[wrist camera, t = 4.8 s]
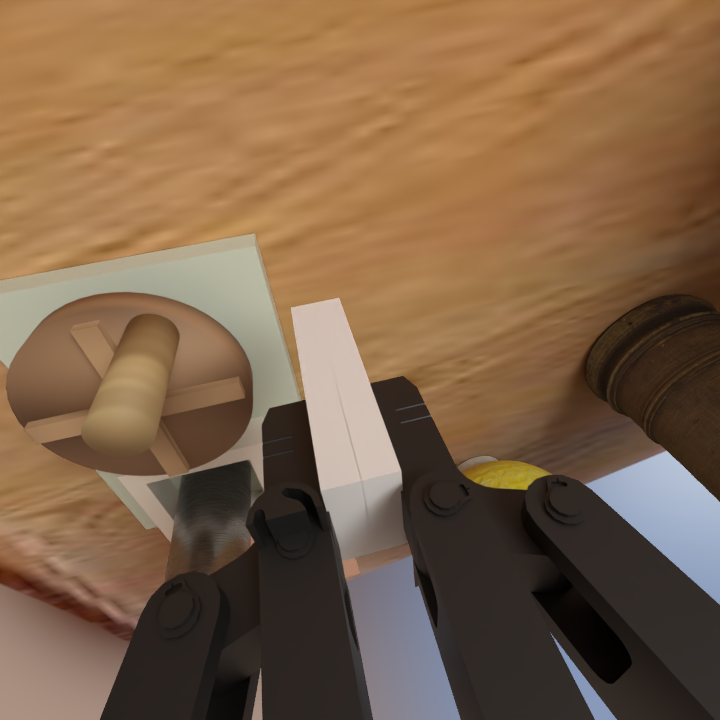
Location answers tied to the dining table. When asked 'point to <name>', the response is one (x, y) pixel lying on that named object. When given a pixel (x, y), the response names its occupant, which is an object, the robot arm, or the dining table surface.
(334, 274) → the dining table surface
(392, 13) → the dining table surface
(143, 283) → the plate
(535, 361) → the dining table surface
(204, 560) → the metal flanged cylinder
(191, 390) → the handwheel
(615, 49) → the dining table surface
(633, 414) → the container
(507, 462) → the bowl
